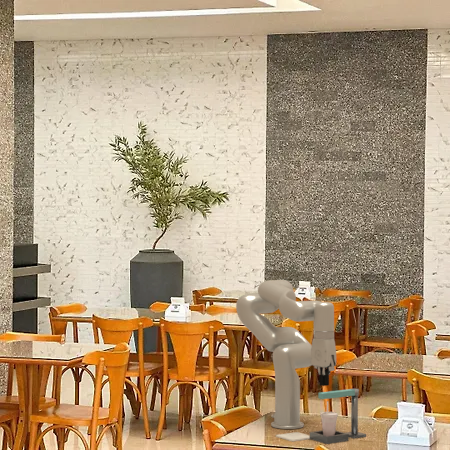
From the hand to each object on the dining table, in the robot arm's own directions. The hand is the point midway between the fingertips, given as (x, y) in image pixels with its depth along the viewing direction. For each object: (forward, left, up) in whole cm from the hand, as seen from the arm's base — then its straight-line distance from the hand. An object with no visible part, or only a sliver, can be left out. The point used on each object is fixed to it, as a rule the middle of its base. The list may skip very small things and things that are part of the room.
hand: (324, 385), depth 371 cm
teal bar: (+7, +2, -3) cm, 8 cm away
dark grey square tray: (+7, -3, -19) cm, 20 cm away
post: (+7, +9, -19) cm, 22 cm away
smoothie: (+7, -3, -19) cm, 20 cm away
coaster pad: (-3, -11, -19) cm, 22 cm away
